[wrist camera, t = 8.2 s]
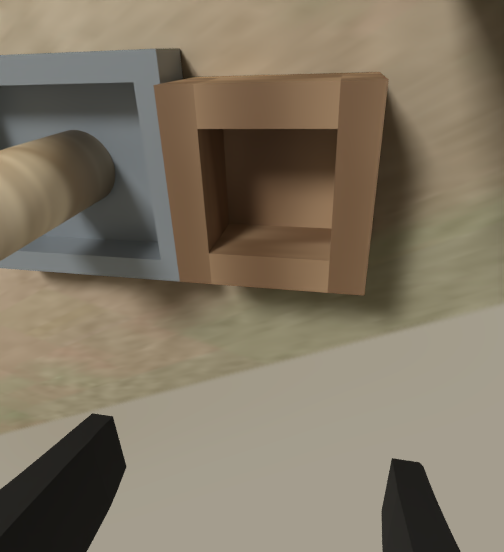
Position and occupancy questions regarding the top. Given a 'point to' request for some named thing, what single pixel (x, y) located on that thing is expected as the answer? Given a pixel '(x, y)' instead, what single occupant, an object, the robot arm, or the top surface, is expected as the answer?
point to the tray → (119, 143)
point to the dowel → (49, 185)
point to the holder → (273, 177)
